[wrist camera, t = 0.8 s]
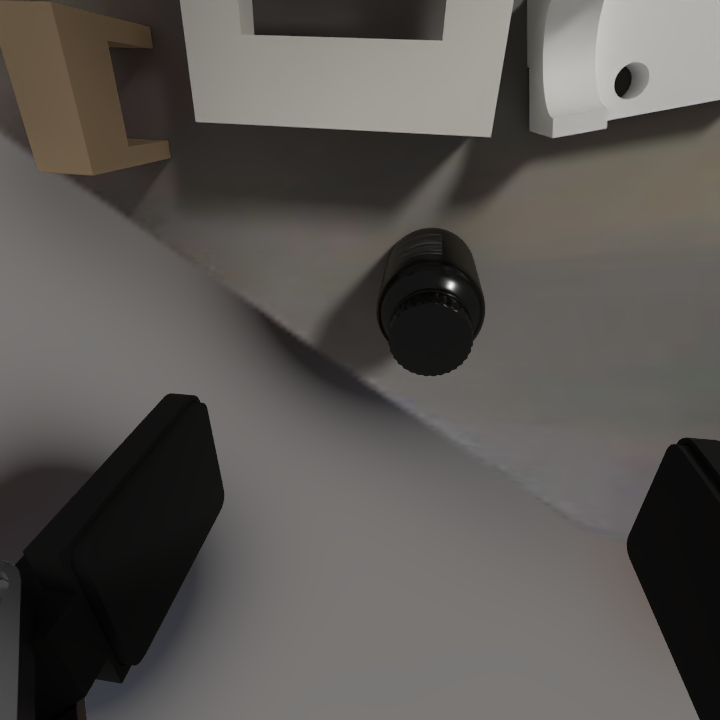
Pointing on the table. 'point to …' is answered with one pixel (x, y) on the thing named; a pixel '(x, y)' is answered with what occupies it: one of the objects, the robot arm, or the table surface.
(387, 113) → the white frame with rod
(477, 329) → the supplement bottle
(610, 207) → the table surface
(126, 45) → the tan c-channel block
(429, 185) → the table surface
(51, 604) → the robot arm
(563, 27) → the bracket
